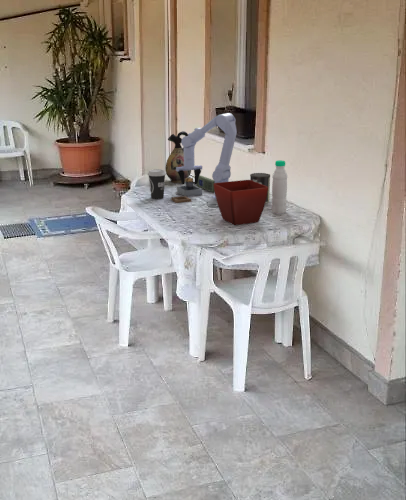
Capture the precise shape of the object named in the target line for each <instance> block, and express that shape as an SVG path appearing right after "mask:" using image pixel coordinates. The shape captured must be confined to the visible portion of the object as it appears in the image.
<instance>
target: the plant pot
mask: <svg viewBox="0 0 406 500" xmlns="http://www.w3.org/2000/svg"><path fill="white" fill-rule="evenodd" d="M214 191H215V192H214V196H215V195H216V199H215V200H216V203H217V206H218V210H219V212H220V215H221V218H222V220H224V221H226V222H228V223H229V224H230V225H233V226H239V225H241V226H242V225H247V224H256V223H259V222H260V220H261V217H262V214H263V212H264V209H265V205H266V203H265V202H266V198H267V193H268V187H267V186H265V185H262V184H260V183H257V182H255V181H252V180H250V179H241V180H231V181H228V182H221V183H214Z"/></svg>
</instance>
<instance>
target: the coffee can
mask: <svg viewBox="0 0 406 500" xmlns="http://www.w3.org/2000/svg"><path fill="white" fill-rule="evenodd" d="M249 176H250V179H249V180H252V181H255V182H257V183H260V184H262V185H265V186H267V187H268V193H267V198H266V202H265V204H268V203H270V193H271V192H270V190H271V189H270V186H271V174H270V173H265V172H253V173H250V174H249Z"/></svg>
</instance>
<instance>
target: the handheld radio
mask: <svg viewBox="0 0 406 500" xmlns="http://www.w3.org/2000/svg"><path fill="white" fill-rule="evenodd" d="M214 183H215V181H214V180H213V178H210V177H206V176H203V175H201V174H200V175H199V178H198V182H197V183H195V181H193V185H195V186H197V187H199V188H201V189H202V190H206V191H208V192H211V193H213V194H215V191H214Z"/></svg>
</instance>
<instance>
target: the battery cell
mask: <svg viewBox="0 0 406 500" xmlns="http://www.w3.org/2000/svg"><path fill="white" fill-rule="evenodd" d="M193 182H194V178H193V177H191V176H189V177H188V178H186V182H185V186H186V190H193V185H194V184H193Z"/></svg>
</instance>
